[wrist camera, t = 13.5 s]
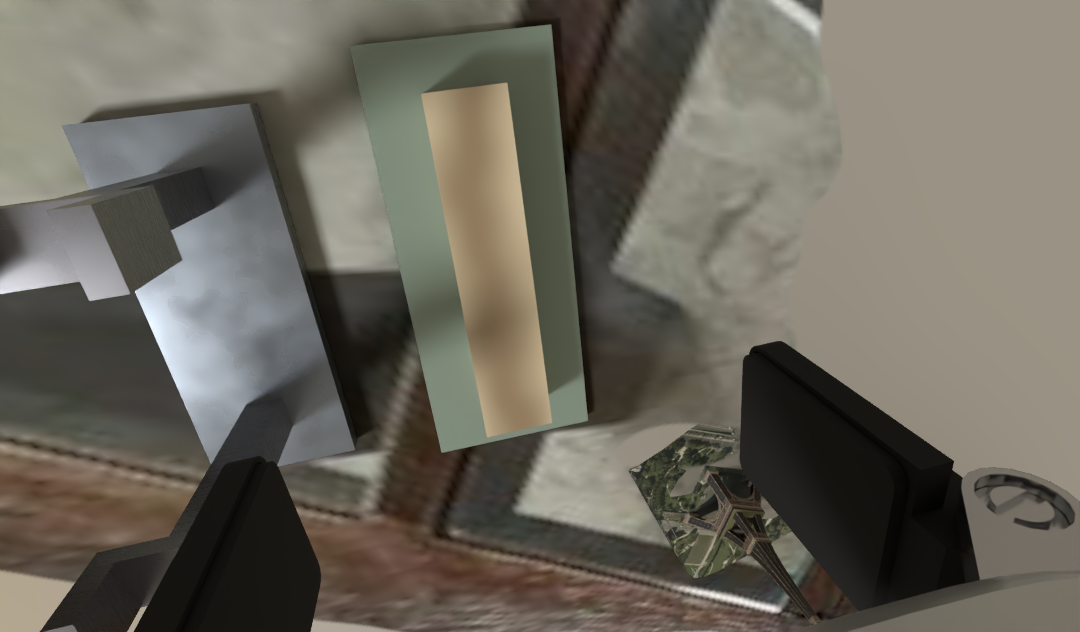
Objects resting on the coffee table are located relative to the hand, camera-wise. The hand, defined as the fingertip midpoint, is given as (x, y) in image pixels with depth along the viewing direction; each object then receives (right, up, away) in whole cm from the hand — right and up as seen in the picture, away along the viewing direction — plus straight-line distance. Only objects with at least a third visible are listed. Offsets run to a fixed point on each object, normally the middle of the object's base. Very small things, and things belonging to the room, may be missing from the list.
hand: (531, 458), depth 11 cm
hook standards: (-16, +3, +19) cm, 25 cm away
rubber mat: (-3, +6, +21) cm, 22 cm away
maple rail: (-3, +6, +20) cm, 21 cm away
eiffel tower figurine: (+14, -12, +32) cm, 37 cm away
